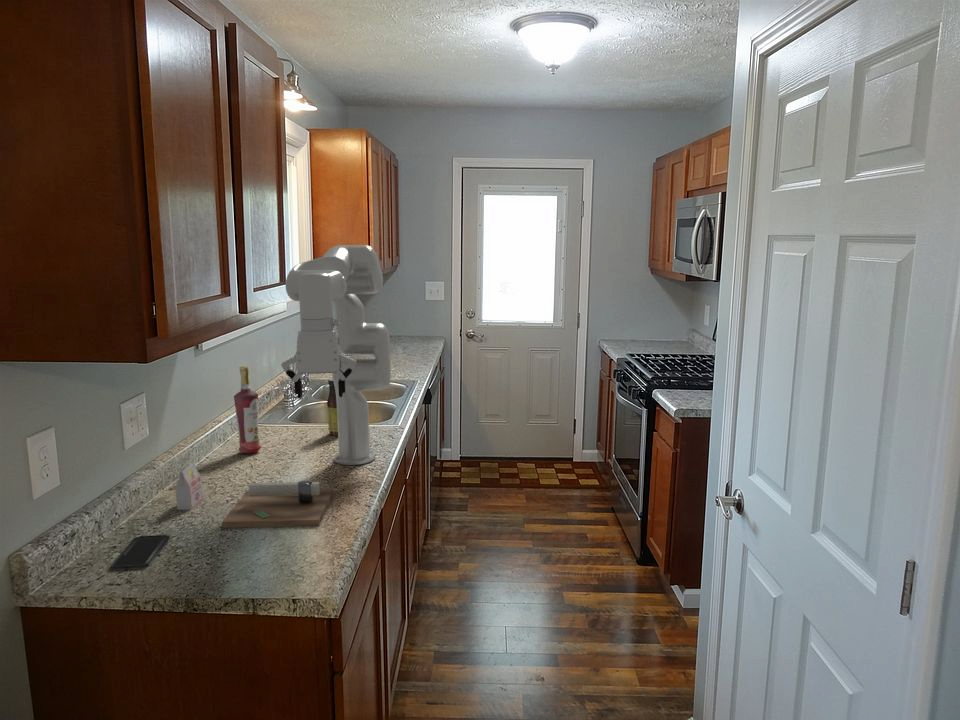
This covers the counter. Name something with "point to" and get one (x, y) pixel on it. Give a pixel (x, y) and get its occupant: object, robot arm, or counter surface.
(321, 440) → the counter surface
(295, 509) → the dial board
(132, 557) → the phone
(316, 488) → the dial pointer
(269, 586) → the counter surface
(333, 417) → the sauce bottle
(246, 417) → the liquor
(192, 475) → the pink white carton
